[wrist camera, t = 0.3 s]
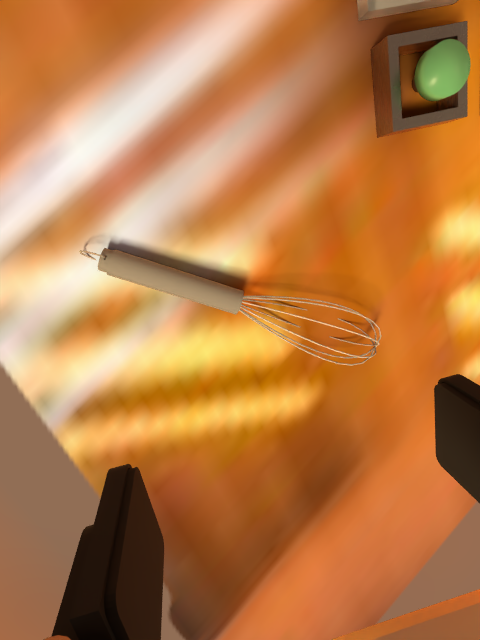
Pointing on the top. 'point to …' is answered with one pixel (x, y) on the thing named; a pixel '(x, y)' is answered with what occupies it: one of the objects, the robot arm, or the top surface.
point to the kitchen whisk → (205, 291)
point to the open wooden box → (389, 80)
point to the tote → (395, 7)
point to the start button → (442, 70)
